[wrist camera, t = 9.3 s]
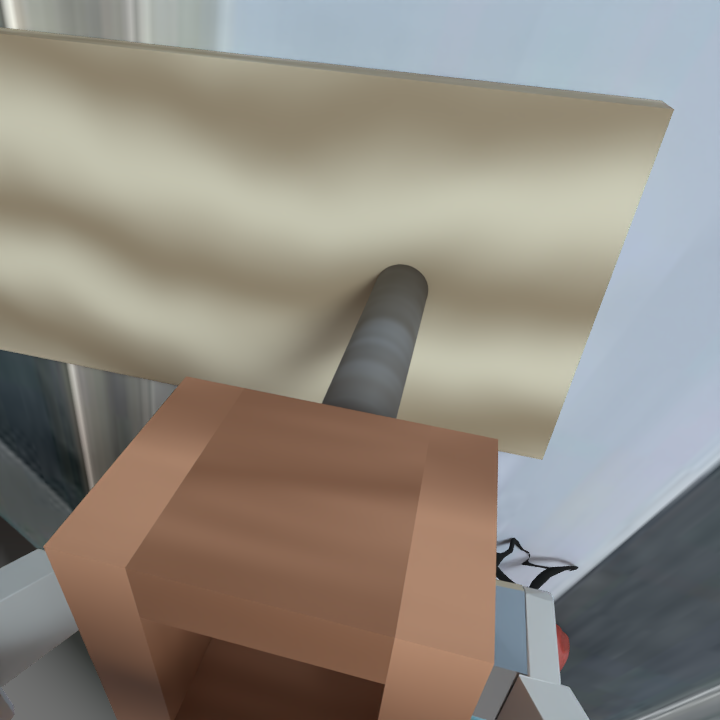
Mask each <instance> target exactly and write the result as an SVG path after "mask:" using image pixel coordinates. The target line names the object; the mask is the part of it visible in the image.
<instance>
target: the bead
mask: <svg viewBox="0 0 720 720" xmlns="http://www.w3.org/2000/svg"><path fill="white" fill-rule="evenodd" d="M497 482H498V439H495V438H490V437H485V436H480V435H475V434H470V433H465V432H460V431H455V430H450V429H445V428H440V427H435V426H430V425H425V424H420V423H415V422H410V421H406V420H401V419H396V418H391V417H386V416H381V415H376V414H371V413H366V412H361V411H356V410H351V409H346V408H341V407H336V406H331V405H326V404H321V403H316V402H311V401H306V400H301V399H296V398H291V397H286V396H281V395H276V394H272V393H267V392H262V391H257V390H252V389H247V388H242V387H237V386H232V385H227V384H222V383H217V382H212V381H207V380H202V379H197V378H192V377H187V376H186V377H185V378H184V380H183V381H182V382H181V383H180V384H179V386H178V387H177V388H176V389H175V390H174V392H173V393H172V394H171V395H170V396H169V398H168V399H167V400H166V401H165V402H164V403H163V405H162V406H161V407H160V408H159V409H158V411H157V412H156V413H155V414H154V415H153V417H152V418H151V419H150V420H149V421H148V423H147V424H146V425H145V426H144V427H143V429H142V430H141V431H140V432H139V433H138V434H137V436H136V437H135V438H134V439H133V440H132V442H131V443H130V444H129V445H128V446H127V448H126V449H125V450H124V451H123V452H122V454H121V455H120V456H119V457H118V458H117V459H116V461H115V462H114V463H113V464H112V465H111V467H110V468H109V469H108V470H107V471H106V473H105V474H104V475H103V476H102V477H101V479H100V480H99V481H98V482H97V483H96V485H95V486H94V487H93V488H92V489H91V490H90V492H89V493H88V494H87V495H86V496H85V498H84V499H83V500H82V501H81V502H80V504H79V505H78V506H77V507H76V508H75V510H74V511H73V512H72V513H71V514H70V516H69V517H68V518H67V519H66V520H65V521H64V523H63V524H62V525H61V526H60V527H59V529H58V530H57V531H56V532H55V533H54V535H53V536H52V537H51V538H50V539H49V541H48V542H47V543H46V544H45V545H44V546H43V547H44V549H45V552H46V554H47V556H48V559H49V561H50V563H51V566H52V568H53V570H54V573H55V575H56V577H57V580H58V582H59V584H60V587H61V589H62V591H63V594H64V596H65V598H66V601H67V603H68V606H69V608H70V610H71V613H72V615H73V617H74V620H75V622H76V624H77V627H78V629H79V631H80V634H81V636H82V638H83V641H84V643H85V645H86V648H87V650H88V652H89V655H90V657H91V659H92V661H93V664H94V666H95V668H96V671H97V673H98V676H99V678H100V680H101V683H102V685H103V687H104V690H105V692H106V694H107V697H108V699H109V701H110V704H111V706H112V708H113V711H114V713H115V716H116V718H117V720H470V719H471V717H472V714H473V712H474V710H475V707H476V705H477V703H478V700H479V698H480V696H481V693H482V691H483V689H484V686H485V684H486V682H487V680H488V677H489V675H490V673H491V670H492V668H493V666H494V654H495V597H496V540H497Z"/></svg>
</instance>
